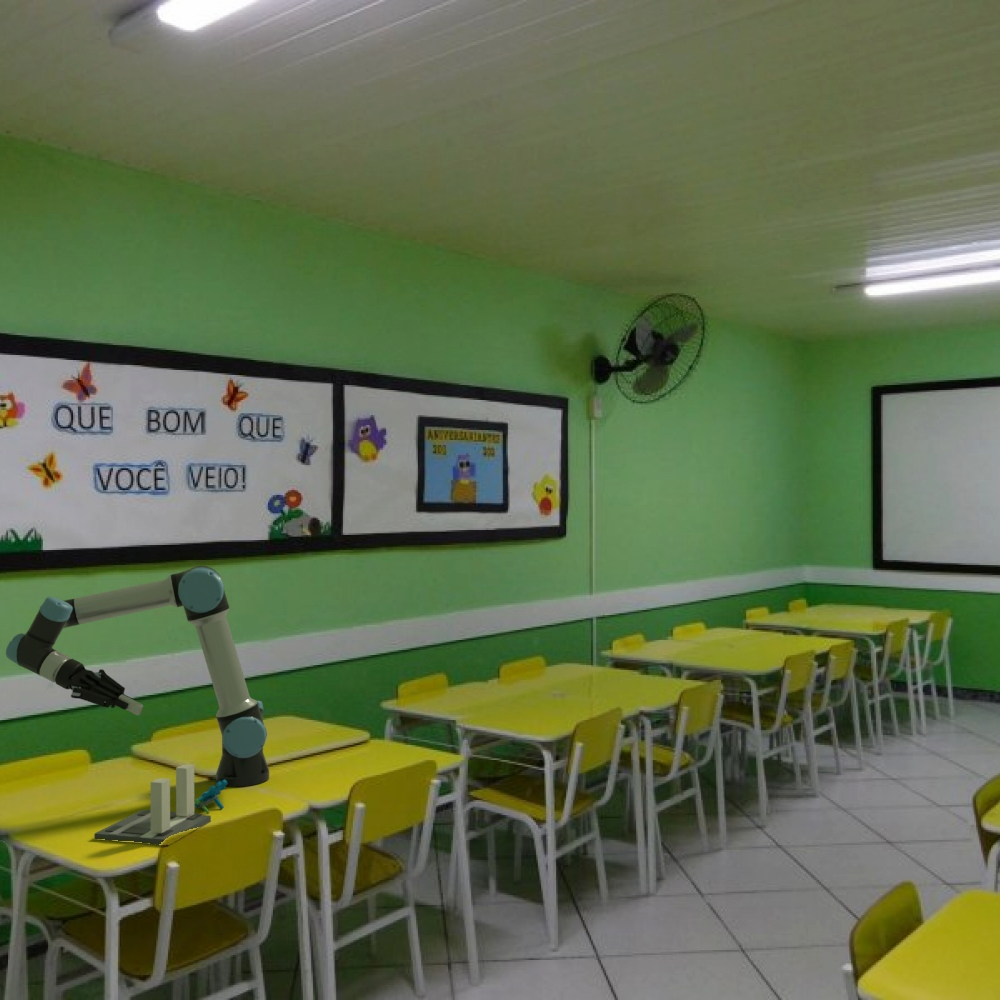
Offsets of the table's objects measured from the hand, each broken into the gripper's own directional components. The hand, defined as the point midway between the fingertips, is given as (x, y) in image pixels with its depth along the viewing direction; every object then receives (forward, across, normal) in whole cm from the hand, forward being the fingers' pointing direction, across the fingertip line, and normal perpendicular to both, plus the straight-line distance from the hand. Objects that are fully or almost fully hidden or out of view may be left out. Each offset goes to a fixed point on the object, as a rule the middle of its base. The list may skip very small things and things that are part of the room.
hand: (140, 710), depth 261 cm
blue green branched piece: (+27, 0, -18) cm, 32 cm away
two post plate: (+20, +19, -15) cm, 32 cm away
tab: (+23, +24, -9) cm, 35 cm away
